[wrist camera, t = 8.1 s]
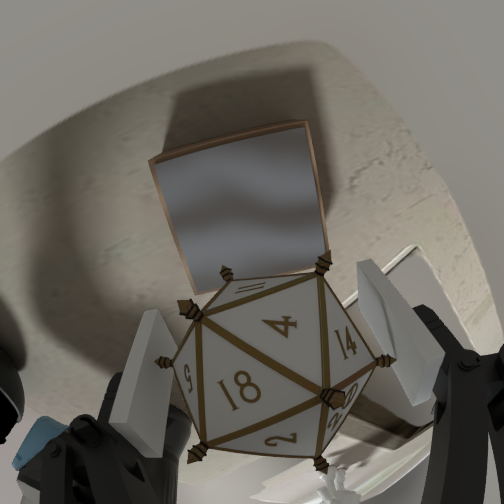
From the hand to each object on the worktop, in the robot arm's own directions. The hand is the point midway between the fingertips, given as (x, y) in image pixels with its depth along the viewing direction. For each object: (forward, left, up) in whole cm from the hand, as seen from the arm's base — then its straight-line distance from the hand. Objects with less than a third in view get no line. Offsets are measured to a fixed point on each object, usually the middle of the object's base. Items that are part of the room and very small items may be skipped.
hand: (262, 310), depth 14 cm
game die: (0, 0, 0) cm, 0 cm away
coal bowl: (-16, +55, -20) cm, 61 cm away
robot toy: (-81, -6, -20) cm, 83 cm away
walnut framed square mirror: (0, 0, -20) cm, 20 cm away
